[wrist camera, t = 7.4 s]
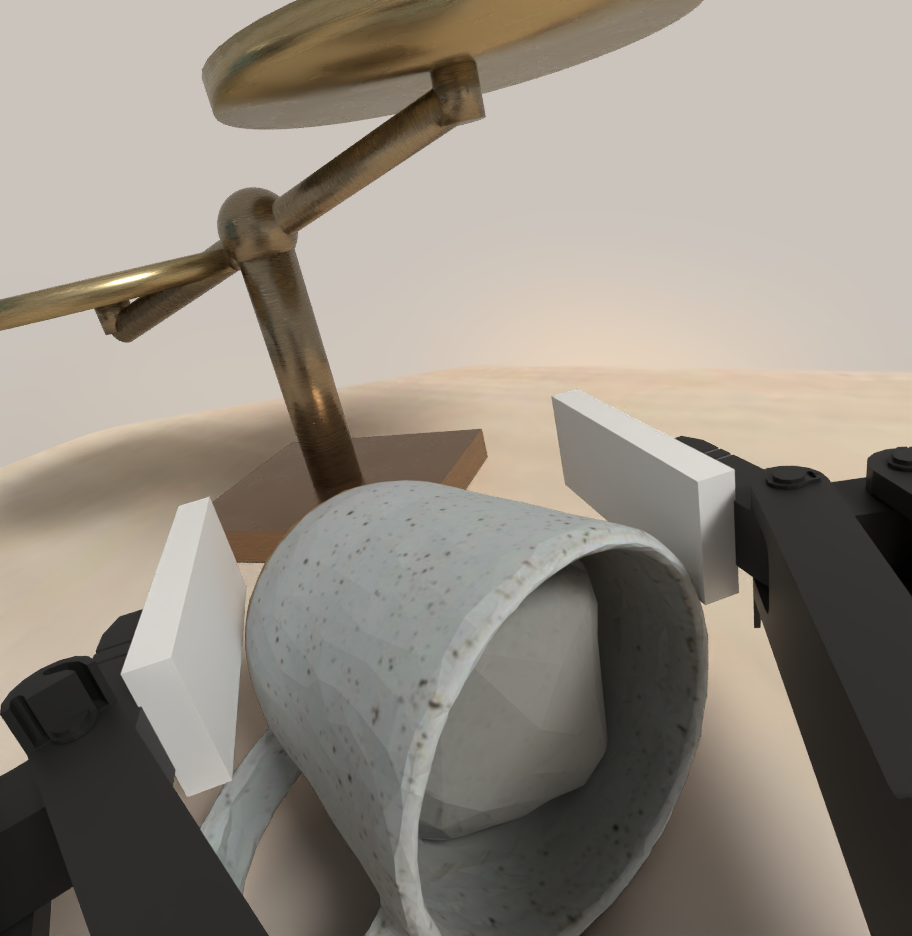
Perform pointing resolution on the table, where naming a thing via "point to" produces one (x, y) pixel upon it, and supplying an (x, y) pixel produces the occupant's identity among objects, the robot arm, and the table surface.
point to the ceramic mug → (471, 704)
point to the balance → (280, 218)
